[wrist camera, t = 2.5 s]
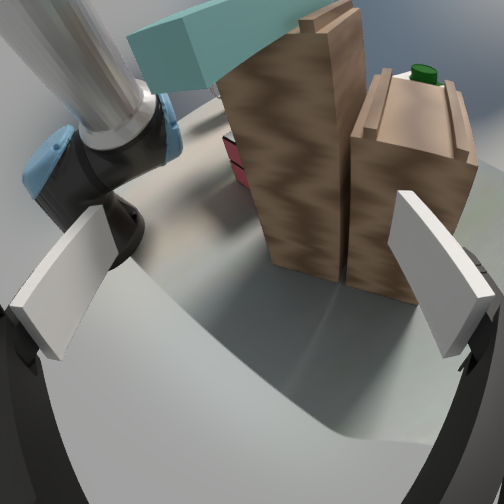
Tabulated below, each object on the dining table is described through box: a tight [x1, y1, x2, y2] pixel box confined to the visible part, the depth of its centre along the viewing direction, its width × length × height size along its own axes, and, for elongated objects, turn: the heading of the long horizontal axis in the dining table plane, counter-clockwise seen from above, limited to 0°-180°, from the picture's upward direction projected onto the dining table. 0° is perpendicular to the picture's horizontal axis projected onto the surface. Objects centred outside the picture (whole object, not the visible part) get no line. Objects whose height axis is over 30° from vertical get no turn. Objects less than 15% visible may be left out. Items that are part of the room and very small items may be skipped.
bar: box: [126, 0, 334, 95], centre depth 16 cm, size 24×4×4 cm, turn 154°
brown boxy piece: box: [216, 0, 478, 306], centre depth 28 cm, size 20×14×31 cm
